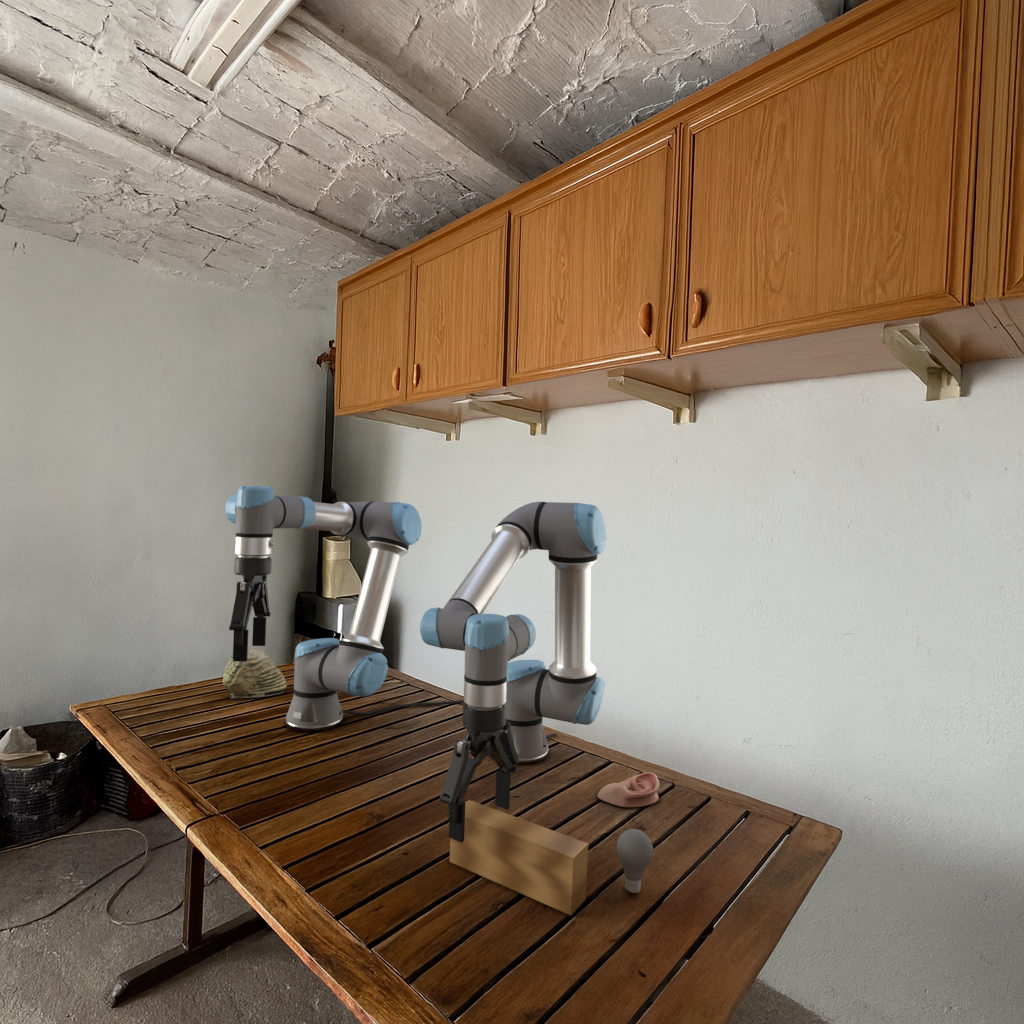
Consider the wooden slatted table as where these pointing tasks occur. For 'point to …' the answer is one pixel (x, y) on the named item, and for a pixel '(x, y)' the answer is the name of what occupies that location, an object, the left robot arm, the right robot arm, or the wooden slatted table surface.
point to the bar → (523, 857)
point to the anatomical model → (632, 791)
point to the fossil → (253, 676)
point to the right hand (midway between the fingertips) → (480, 822)
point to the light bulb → (634, 857)
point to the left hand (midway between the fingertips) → (249, 653)
